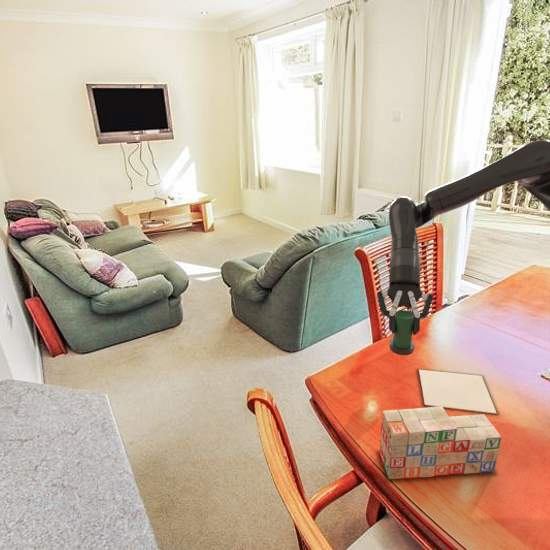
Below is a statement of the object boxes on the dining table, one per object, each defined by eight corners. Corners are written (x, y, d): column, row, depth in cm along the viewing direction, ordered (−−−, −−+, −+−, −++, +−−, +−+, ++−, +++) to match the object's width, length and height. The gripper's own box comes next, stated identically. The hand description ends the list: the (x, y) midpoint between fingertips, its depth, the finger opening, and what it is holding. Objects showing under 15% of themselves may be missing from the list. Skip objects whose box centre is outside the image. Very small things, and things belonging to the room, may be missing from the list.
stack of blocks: (477, 447, 80) (487, 402, 76) (494, 472, 75) (506, 425, 70) (378, 453, 80) (382, 409, 75) (388, 480, 74) (392, 433, 70)
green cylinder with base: (412, 342, 98) (416, 309, 94) (415, 356, 92) (419, 321, 88) (389, 340, 99) (391, 307, 95) (389, 354, 94) (392, 319, 90)
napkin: (481, 376, 101) (481, 375, 101) (496, 413, 89) (496, 413, 89) (418, 370, 105) (418, 369, 105) (424, 405, 92) (424, 404, 92)
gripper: (431, 275, 99) (432, 339, 93) (375, 273, 103) (373, 334, 97) (436, 264, 93) (437, 332, 87) (376, 262, 96) (374, 327, 90)
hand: (403, 333), depth 92 cm, fingers closed on green cylinder with base, 4 cm apart
